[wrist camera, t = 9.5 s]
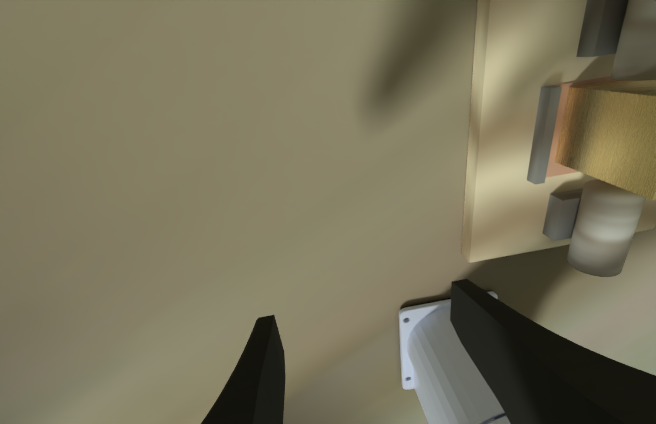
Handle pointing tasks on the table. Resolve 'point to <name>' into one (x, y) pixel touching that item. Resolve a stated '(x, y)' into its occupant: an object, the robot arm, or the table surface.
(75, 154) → the table surface
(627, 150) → the coupler
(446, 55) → the table surface
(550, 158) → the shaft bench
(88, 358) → the table surface
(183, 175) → the table surface
